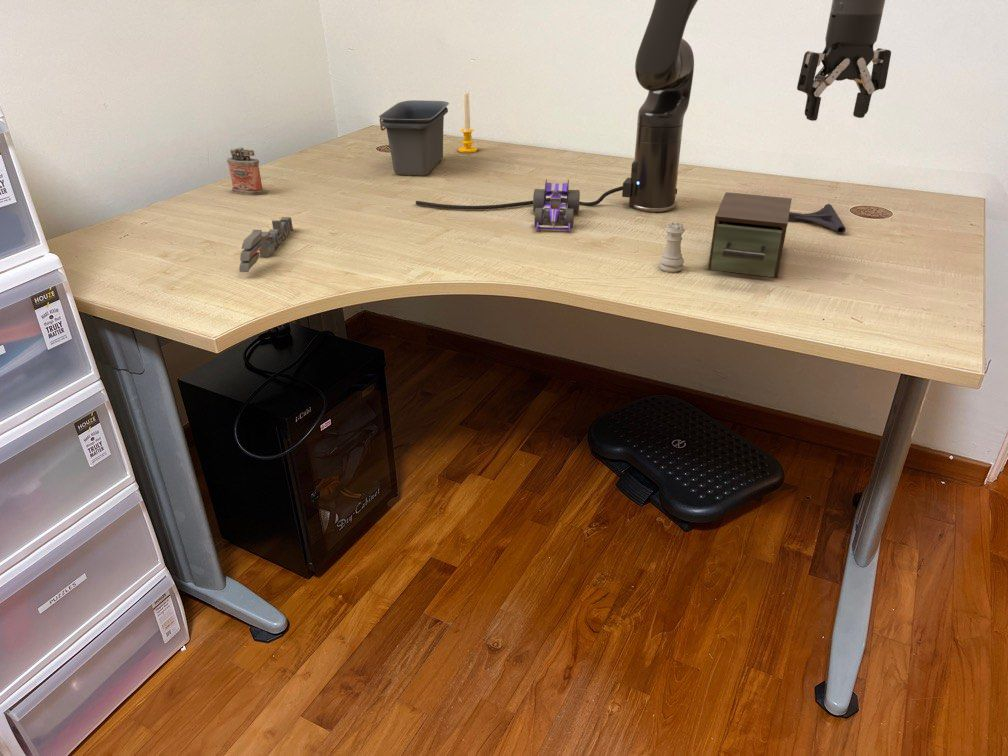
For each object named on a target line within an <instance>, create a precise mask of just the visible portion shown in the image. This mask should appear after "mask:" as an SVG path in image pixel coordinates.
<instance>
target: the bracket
mask: <svg viewBox="0 0 1008 756" xmlns="http://www.w3.org/2000/svg"><path fill="white" fill-rule="evenodd" d="M788 222H795V223H815V224H819V225H822V226H824V227H827V228H828V229H830V230H833V231H835V232H836V233H837V234H838V235H844V233H846V227H845V225H844V224H843V222H842V220H841V219H840V217H839V215H838V213H837V212H836V211H835V209H834V207H833V206H832V204H830V203H827V204H825V205H824V206H823V207H822V208H821V209H819V210H817V211H813V212H811V213H810V212H809V213H801V212H800V213H799V212H794V211H790V212H789V218H788Z"/></svg>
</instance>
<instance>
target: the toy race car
mask: <svg viewBox="0 0 1008 756" xmlns="http://www.w3.org/2000/svg"><path fill="white" fill-rule="evenodd" d="M569 183H570V180H569V179H567V182H563V183H561V182H559V183H557V182H548V179H547V178H546V179H545V182H544V188H535V189H534V190H533V194H532V195H533V196H532V200H533V204H532V210H533V213H534V217H533V218H534V219H533V220H534V227H535V228H536V230H535V231H536V232H539V231H567V233H571V228H574V220H575V219H574V218H575V217H574V215H575V214H580V205H579V201H580V196H581V195H580V194H581V191H580V189H569V188H570V187H569V186H570V184H569ZM548 197H550V198H551V199H550V200H547V198H548ZM562 197H566V198H567V199H568V201H567V199H566V201H563V200H562V199H561V198H562ZM544 224H552V225H544ZM556 224H564V225H556Z"/></svg>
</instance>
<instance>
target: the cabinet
mask: <svg viewBox="0 0 1008 756" xmlns="http://www.w3.org/2000/svg"><path fill="white" fill-rule="evenodd" d="M792 200H793V198H791V197H781V196H771V195H761V194H750V193H739V192H729V191H725V193H724V194H723V197H722V199H721V202H720V204H719V207H718V209H717V212H716V213H715V215H714V216H715V217H714V224H713V231H712V238H711V246H710V252H709V260H708V270H711V271H713V270H712V269H711V263H712V255H713V248H714V241H715V233H716V226H717V224H722V223H723V222H733V223H742V224H752V225H761V226H771V227H779V230H782V235H781V240H780V246H779V251H778V257H777V263H776V268H775V274H774V277H773V278H775V279H778V277H779V272H780V266H781V260H782V255H783V252H784V251H783V250H784V245H785V239H786V234H787V228H788V223H789V221H788V218H789V212H791V207H792ZM717 271H720V270H717ZM720 272H721V271H720ZM725 272H727V273H729V272H728V271H725ZM733 273H735V274H737V273H736V272H733ZM742 274H744V273H742ZM744 275H745V274H744ZM750 275H751V276H753V275H752V274H750ZM758 276H760V275H758ZM760 277H761V276H760ZM766 277H767V278H769V277H768V276H766Z"/></svg>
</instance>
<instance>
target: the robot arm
mask: <svg viewBox="0 0 1008 756" xmlns="http://www.w3.org/2000/svg"><path fill="white" fill-rule="evenodd" d="M698 2H699V0H655V1H654V3H653V7H652V10H651V14H650V16H649V20H648V23H647V26H646V28H645V31H644V34H643V37H642V39H641V42H640V45H639V47H638V50H637V53H636V56H635V61H634V74H635V77H636V80H637V82H638V84H639V85H640V86H641V87H642V88H643V89H644V90H646V91H648V93H647V96H646V98H645V100H644V102H643V104H641V106H640V107H639V109H638V111H637V123H636V124H637V125H636V134H635V135H636V137H635V151H634V160H633V161H632V162H631V169H630V170H631V171H630V177H627V178H626V179H625V180H624V181H623V182H622V186H621V185H620V186H617V187H615V188H611V189H609V190H607V191H605V192H604V193H602V194H601V196H599V198H597V199H596V200H595V201H590V202H586V201H580V200H579V206H584V207H594V206H597V205H599V204H601V202H603V200H604V199H605V198H607V196H609V195H611V194H614V193H617V192H621V191H622V192H621V197H622V198H628V208H633V209H636V210H639V211H643V212H650V213H651V212H652V213H662V212H668V211H670V210H671V211H672V210H673V209H675V208H676V196H677V195H678V188H677V187H678V185H677V184H678V176H679V167H680V157H681V147H682V140H683V139H682V137H683V127H684V118H685V115H686V113H687V111H688V108H689V104H690V99H691V93H692V86H693V79H694V71H695V54H694V51H693V48H692V46H691V45H690V43H689V42H688V41H687V40H686V39H684V35H685V34H684V33H685V30H686V27H687V24H688V21H689V18H690V16H691V14H692V12H693V10H694V8H695V6H696V5H697V3H698ZM885 3H886V0H832V1H831V7H830V12H829V16H828V17H829V18H828V23H827V27H826V34H825V47H824V49H823V50H822V52H815V51H811V50H810V51H809V50H807V51H806V52H804V55H803V58H802V59H803V60H802V63H801V68H800V73H799V76H798V81H797V86H796V90H797V91H799V92H802V93H804V94H806V100H805V101H806V102H805V107H804V108H805V109H804V116H806V120H808V121H811V122H815V121H817V120H818V116H819V113H820V106H821V102H822V97H821V95H822V94H823V92H824V91H825V90H826V89H827V87H829V86H831V85H832V84H833V83H834V82H835V81H836V82H837V81H839V82H841V81H844V80H849V81H854V83H855V84H856V86H857V88H858V90H859V92H857V94H856V98H855V103H854V108H853V112H852V113H853V114H852V115H853V117H854V118H858V119H864V118H865V116H866V115H867V113H868V112H869V108H870V105H871V99H872V95H873V94H874V92H876V91H878V90H884V89H885V87H886V85H887V80H888V73H889V68H890V62H891V57H892V50H890V49H885V48H881V47H878V48H877V49H876V50H874V45H875V43H876V42H878V41H877V40H878V35H879V31H880V27H881V22H882V17H883V12H884V8H885ZM871 62H872V68H871V69H872V70H871V73H870V71H869V68H868V66H869V65H870V63H871ZM821 64H822V68H821V69H820V70H819V71H818V72H817V69H818V67H819V66H820V65H821ZM816 73H817V74H816ZM546 198H547V200H550V199H551V197H546ZM561 199H562V200H563V201H566V199H567V197H561ZM567 201H568V199H567ZM415 205H416V206H417V205H418V206H424V207H429V208H430V207H431V208H437V209H447V210H465V211H466V210H468V211H470V210H471V211H473V210H474V211H475V210H477V211H481V210H497V209H506V208H514V207H515V208H516V207H523V206H531V205H532V206H533V199H531V200H525V201H517V202H509V203H501V204H488V205H487V204H486V205H485V204H484V205H463V204H460V205H459V204H446V203H445V204H444V203H436V202H428V201H424V200H423V201H422V200H415Z"/></svg>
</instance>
